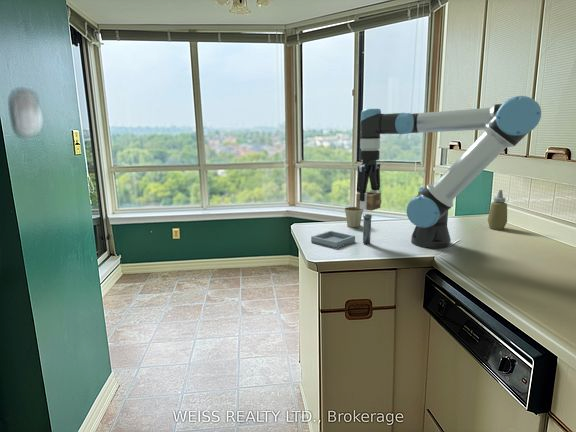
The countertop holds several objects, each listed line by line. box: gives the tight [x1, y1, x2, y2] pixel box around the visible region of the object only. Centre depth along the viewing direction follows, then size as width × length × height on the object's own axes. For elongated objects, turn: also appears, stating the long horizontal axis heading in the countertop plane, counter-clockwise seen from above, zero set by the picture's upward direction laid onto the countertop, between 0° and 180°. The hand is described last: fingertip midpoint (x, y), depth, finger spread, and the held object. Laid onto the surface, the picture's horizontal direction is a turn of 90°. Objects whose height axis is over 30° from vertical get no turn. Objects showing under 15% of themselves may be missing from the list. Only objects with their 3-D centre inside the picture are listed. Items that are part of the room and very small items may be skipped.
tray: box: [310, 230, 356, 249], centre depth 162 cm, size 13×13×2 cm
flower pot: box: [343, 206, 364, 228], centre depth 187 cm, size 9×9×9 cm
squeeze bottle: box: [487, 189, 508, 231], centre depth 178 cm, size 8×8×18 cm
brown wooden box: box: [355, 191, 382, 212], centre depth 155 cm, size 9×7×6 cm
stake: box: [362, 213, 373, 245], centre depth 158 cm, size 3×3×12 cm
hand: (368, 207), depth 156 cm, fingers closed on brown wooden box, 7 cm apart
